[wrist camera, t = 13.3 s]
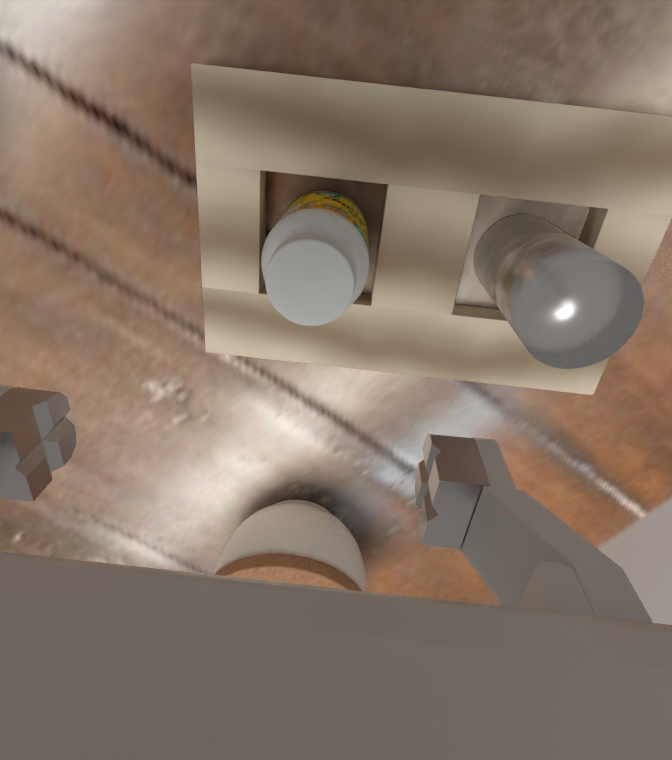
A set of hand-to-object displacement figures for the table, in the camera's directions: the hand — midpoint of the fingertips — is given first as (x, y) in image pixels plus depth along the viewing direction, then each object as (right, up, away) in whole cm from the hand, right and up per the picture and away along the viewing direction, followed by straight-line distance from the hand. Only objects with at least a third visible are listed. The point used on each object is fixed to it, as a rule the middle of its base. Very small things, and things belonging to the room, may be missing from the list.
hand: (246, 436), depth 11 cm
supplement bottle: (+1, +10, +18) cm, 21 cm away
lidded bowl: (-1, -12, +31) cm, 33 cm away
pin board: (+7, +10, +18) cm, 22 cm away
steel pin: (+13, +9, +18) cm, 24 cm away
